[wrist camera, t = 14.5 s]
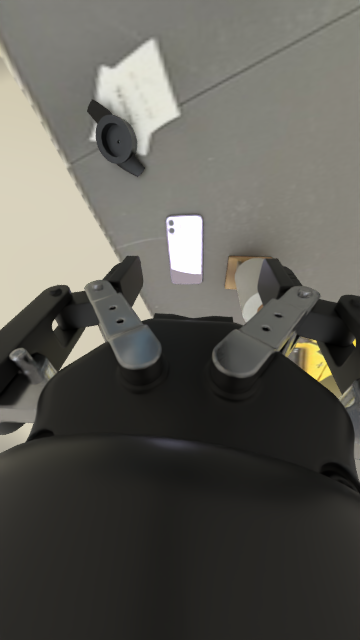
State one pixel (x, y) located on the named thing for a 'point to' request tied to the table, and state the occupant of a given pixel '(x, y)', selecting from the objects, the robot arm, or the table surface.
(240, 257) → the holder base
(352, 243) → the table surface
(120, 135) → the black winged disc
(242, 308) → the towel stand
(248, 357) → the robot arm
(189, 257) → the mobile phone
